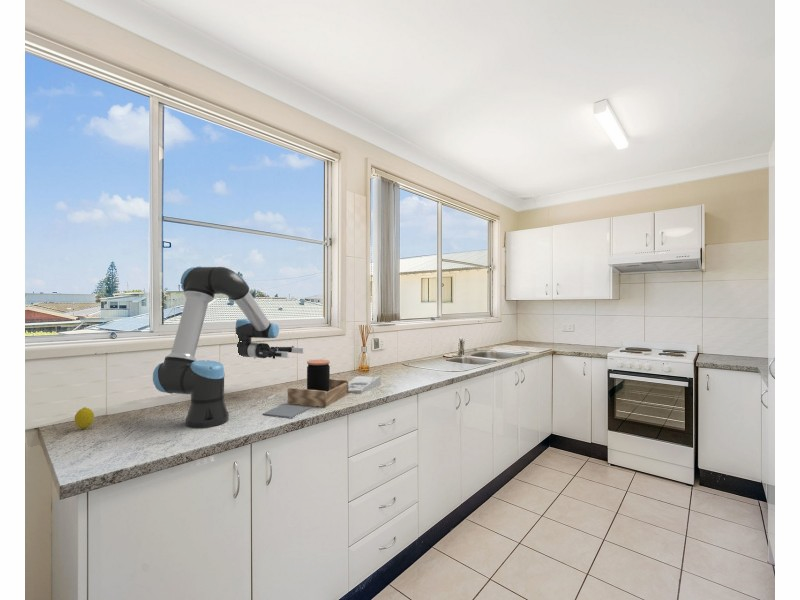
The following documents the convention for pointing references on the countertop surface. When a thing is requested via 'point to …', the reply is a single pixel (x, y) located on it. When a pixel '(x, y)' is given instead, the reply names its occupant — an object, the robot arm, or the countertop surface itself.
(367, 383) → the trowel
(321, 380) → the coffee jar
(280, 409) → the rubber mat
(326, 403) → the wooden tray
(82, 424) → the lemon
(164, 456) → the countertop surface
